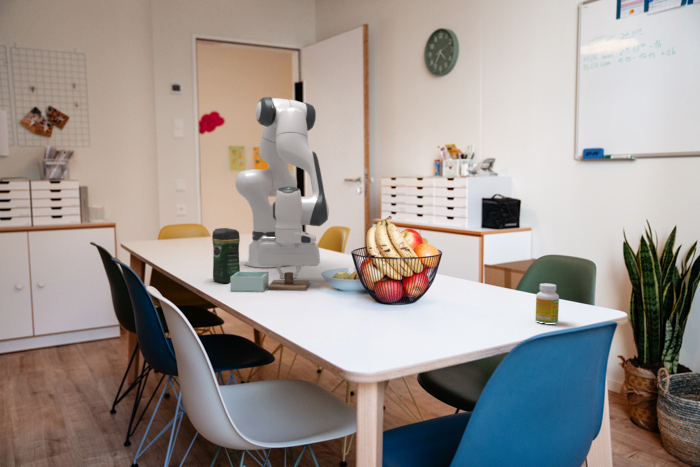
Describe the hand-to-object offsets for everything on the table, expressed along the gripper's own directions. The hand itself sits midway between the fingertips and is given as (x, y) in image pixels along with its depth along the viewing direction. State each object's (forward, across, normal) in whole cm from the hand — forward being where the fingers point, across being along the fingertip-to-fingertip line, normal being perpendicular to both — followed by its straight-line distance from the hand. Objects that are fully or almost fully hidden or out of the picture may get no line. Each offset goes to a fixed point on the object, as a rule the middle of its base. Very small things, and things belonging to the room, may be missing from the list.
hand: (288, 279), depth 188 cm
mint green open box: (+3, -12, -4) cm, 13 cm away
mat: (+3, 0, 0) cm, 3 cm away
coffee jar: (+3, -23, +10) cm, 25 cm away
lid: (+2, 0, 0) cm, 2 cm away
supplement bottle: (+3, +71, -41) cm, 82 cm away
